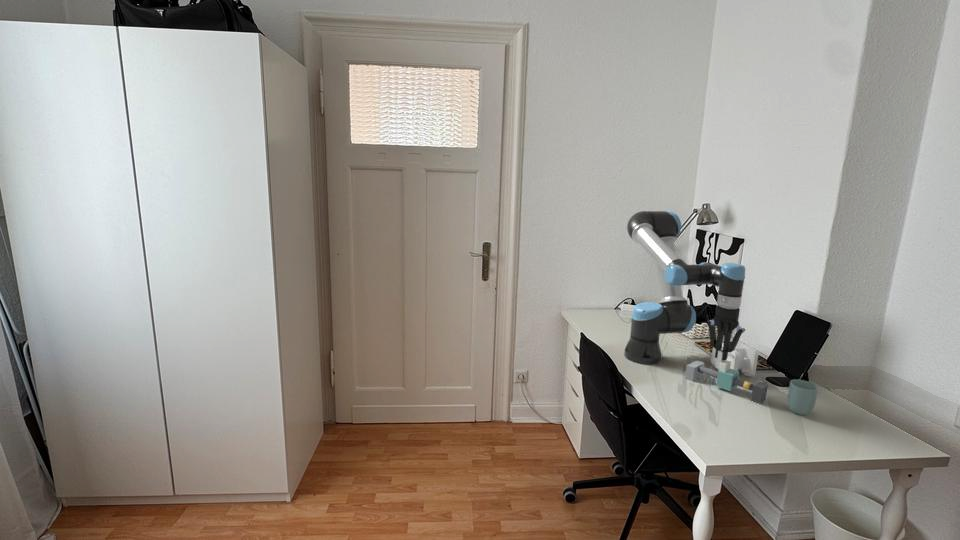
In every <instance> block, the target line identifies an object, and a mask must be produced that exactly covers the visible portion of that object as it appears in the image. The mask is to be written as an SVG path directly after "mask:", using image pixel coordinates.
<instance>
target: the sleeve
mask: <svg viewBox="0 0 960 540" xmlns="http://www.w3.org/2000/svg"><path fill="white" fill-rule="evenodd" d="M730 366H731V361H727V360H725V361H723V362H721V363H720V368H719V370H717V372H718V375H717V378H716V384H715V387H716V388H717V387H718V388H721V389H723V390H725V391H728V392H731V391H733V390H734V389H735V388H737V387H738V386H737V385H734V384H733V378H737V379H739V376H740V370H738V371H736V370H733V369H730Z"/></svg>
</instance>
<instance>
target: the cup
mask: <svg viewBox="0 0 960 540" xmlns="http://www.w3.org/2000/svg"><path fill="white" fill-rule="evenodd" d="M818 393H819V387H818V386H817V384H815V383H813V382H810V381H807V380H804V379H795V378H794V379H791V380H790V381H789V387H788V391H787V400H786V403H787V406H788V409H789V410H790V411H791V412H793V413H794V414H796V415H800V416H801V415H802V416H808V415H810V414H812V412H813V411H814V409H815V406H816V403H817V397H818Z"/></svg>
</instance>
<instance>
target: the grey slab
mask: <svg viewBox="0 0 960 540" xmlns="http://www.w3.org/2000/svg"><path fill="white" fill-rule="evenodd" d="M699 366H702V367H705V362H704V361H700V360H695V361H693V362H691V363H688V364H686V370H685V376H684V379H686V380H689V381H691V382H694V381H695V380H697V379H699V378H701V377H702V376H703V373H700V372H698V371H697V370H698V367H699Z"/></svg>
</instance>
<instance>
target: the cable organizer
mask: <svg viewBox="0 0 960 540" xmlns="http://www.w3.org/2000/svg"><path fill="white" fill-rule="evenodd" d="M723 344H724V342H723V343H722V347H723ZM729 347H730V346H729ZM722 350H723V348H722ZM715 352H716V349H715V348H714V347H712V350H711V356H710V363H711V365H712V366H713V367H714V368H715V369H717V371H719V368H716V364H717V358H715ZM758 360H759V352H758V350H757V349H755V348H753V347H752V346H750V345H749V344H746V343H745V342H743V341H741V340H740V339H739V341H738V343H737V345H736V347H735V350H734V351H732V352H728V357H727V361H731V366H730V369H733V370H736V371H739V372H741V374H743V375H745V376H746V375H747V376H746V377H748V376H749V377H754V376H756V371H757V365H758Z"/></svg>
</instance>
